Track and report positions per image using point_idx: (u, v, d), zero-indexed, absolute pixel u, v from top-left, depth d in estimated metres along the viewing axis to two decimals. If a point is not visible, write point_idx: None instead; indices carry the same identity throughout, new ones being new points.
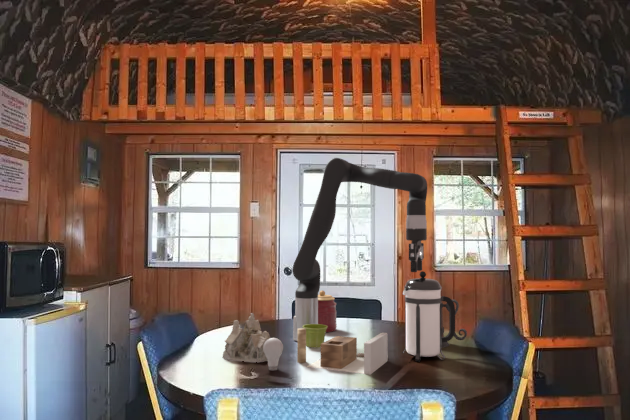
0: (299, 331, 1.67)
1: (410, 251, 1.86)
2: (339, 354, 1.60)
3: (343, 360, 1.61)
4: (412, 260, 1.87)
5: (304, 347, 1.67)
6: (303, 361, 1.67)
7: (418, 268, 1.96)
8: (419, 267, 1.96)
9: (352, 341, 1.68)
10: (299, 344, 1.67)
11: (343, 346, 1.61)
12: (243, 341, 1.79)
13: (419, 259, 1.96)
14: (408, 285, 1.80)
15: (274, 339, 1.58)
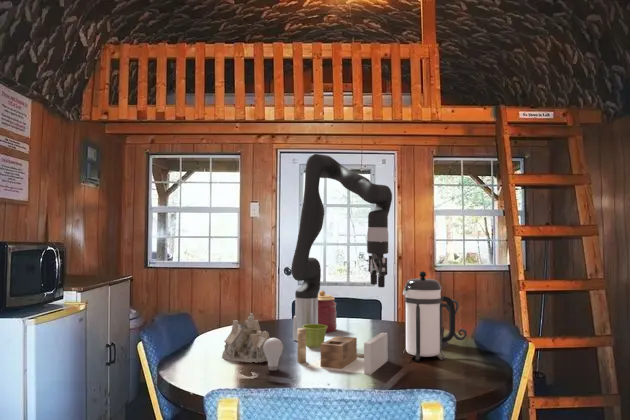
0: (299, 331, 1.67)
1: (382, 266, 1.77)
2: (339, 354, 1.60)
3: (343, 360, 1.61)
4: (383, 275, 1.78)
5: (304, 347, 1.67)
6: (303, 361, 1.67)
7: (373, 282, 1.88)
8: (374, 281, 1.88)
9: (352, 341, 1.68)
10: (299, 344, 1.67)
11: (343, 346, 1.61)
12: (242, 341, 1.79)
13: (374, 273, 1.88)
14: (408, 285, 1.80)
15: (274, 339, 1.58)
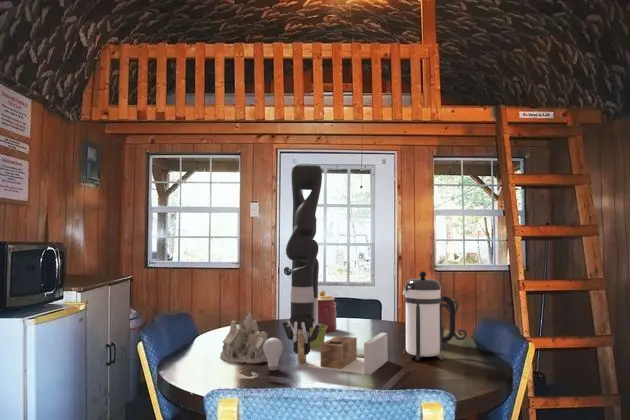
0: (299, 331, 1.67)
1: (316, 333, 1.66)
2: (339, 354, 1.60)
3: (343, 360, 1.61)
4: None
5: None
6: (303, 361, 1.67)
7: (297, 351, 1.68)
8: None
9: (352, 341, 1.68)
10: (299, 344, 1.67)
11: (343, 346, 1.61)
12: (241, 342, 1.78)
13: None
14: (408, 285, 1.80)
15: (274, 339, 1.58)
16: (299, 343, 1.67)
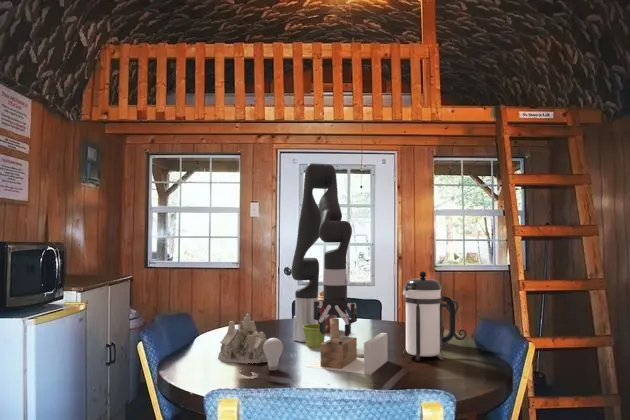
0: (332, 321, 1.63)
1: (355, 312, 1.61)
2: (339, 354, 1.60)
3: (343, 360, 1.61)
4: (352, 322, 1.62)
5: (337, 337, 1.63)
6: None
7: (324, 331, 1.66)
8: (324, 330, 1.66)
9: (352, 341, 1.68)
10: (332, 334, 1.63)
11: (343, 346, 1.61)
12: (239, 342, 1.77)
13: (324, 320, 1.66)
14: (408, 285, 1.80)
15: (274, 339, 1.58)
16: (332, 333, 1.63)
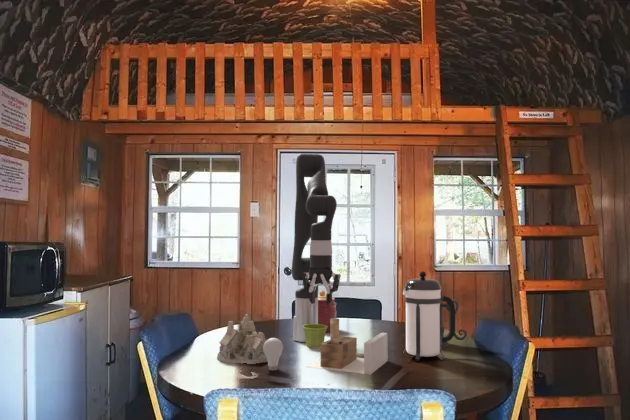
0: (332, 321, 1.63)
1: (337, 283, 1.73)
2: (339, 354, 1.60)
3: (343, 360, 1.61)
4: (333, 291, 1.73)
5: (337, 337, 1.63)
6: None
7: (313, 301, 1.76)
8: (314, 299, 1.77)
9: (352, 341, 1.68)
10: (332, 334, 1.63)
11: (343, 346, 1.61)
12: (238, 342, 1.77)
13: (313, 290, 1.77)
14: (408, 285, 1.80)
15: (274, 339, 1.58)
16: (332, 333, 1.63)
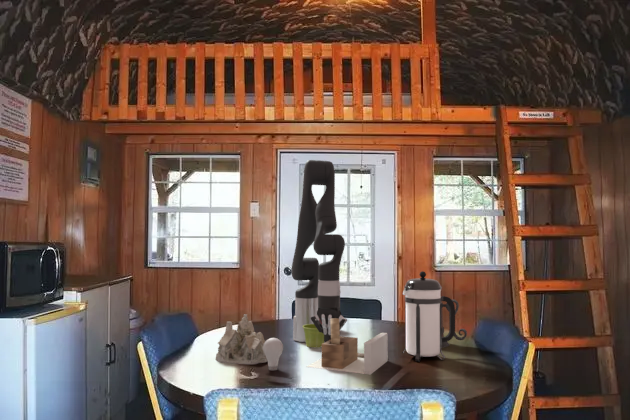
0: (332, 321, 1.63)
1: (341, 327, 1.71)
2: (340, 354, 1.59)
3: (344, 360, 1.61)
4: None
5: (338, 337, 1.63)
6: None
7: None
8: None
9: (353, 341, 1.68)
10: (333, 334, 1.63)
11: (344, 346, 1.61)
12: (237, 343, 1.76)
13: None
14: (408, 285, 1.80)
15: (274, 339, 1.58)
16: (333, 333, 1.63)
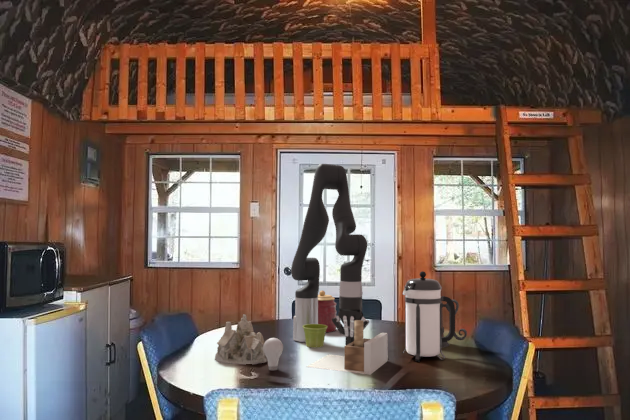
0: (356, 323, 1.60)
1: (363, 329, 1.68)
2: None
3: None
4: None
5: (362, 339, 1.60)
6: None
7: None
8: None
9: None
10: (357, 336, 1.60)
11: None
12: (236, 343, 1.76)
13: (349, 333, 1.71)
14: (408, 285, 1.80)
15: (274, 339, 1.58)
16: (356, 335, 1.60)
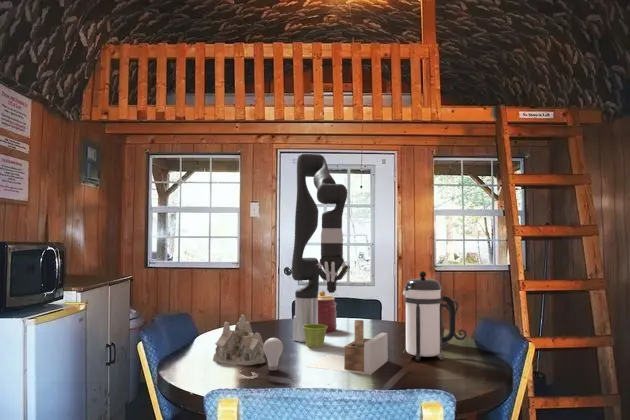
0: (357, 323, 1.60)
1: (343, 273, 1.74)
2: None
3: None
4: None
5: (362, 339, 1.60)
6: None
7: None
8: None
9: None
10: (357, 336, 1.60)
11: None
12: (234, 343, 1.75)
13: None
14: (408, 285, 1.80)
15: (274, 339, 1.58)
16: (357, 335, 1.60)
